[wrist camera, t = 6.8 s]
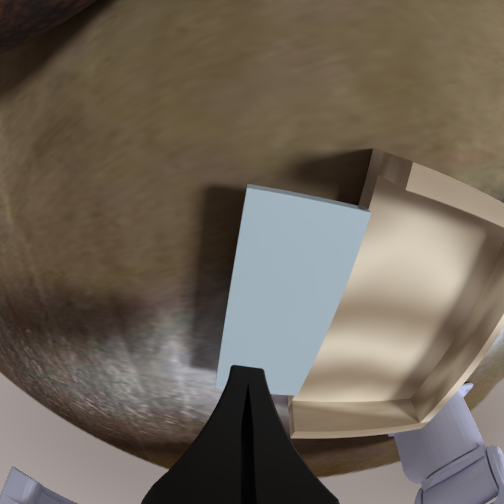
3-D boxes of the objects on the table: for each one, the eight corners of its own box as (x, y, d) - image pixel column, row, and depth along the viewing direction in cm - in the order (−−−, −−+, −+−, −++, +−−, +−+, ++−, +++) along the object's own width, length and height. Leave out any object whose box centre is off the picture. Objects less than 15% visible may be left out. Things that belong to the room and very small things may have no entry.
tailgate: (298, 395, 19) (214, 388, 18) (297, 387, 20) (215, 379, 19) (373, 213, 13) (247, 187, 12) (367, 207, 14) (247, 183, 13)
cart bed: (408, 393, 23) (422, 428, 19) (287, 394, 22) (290, 438, 18) (510, 206, 14) (548, 230, 10) (373, 148, 14) (413, 161, 10)
